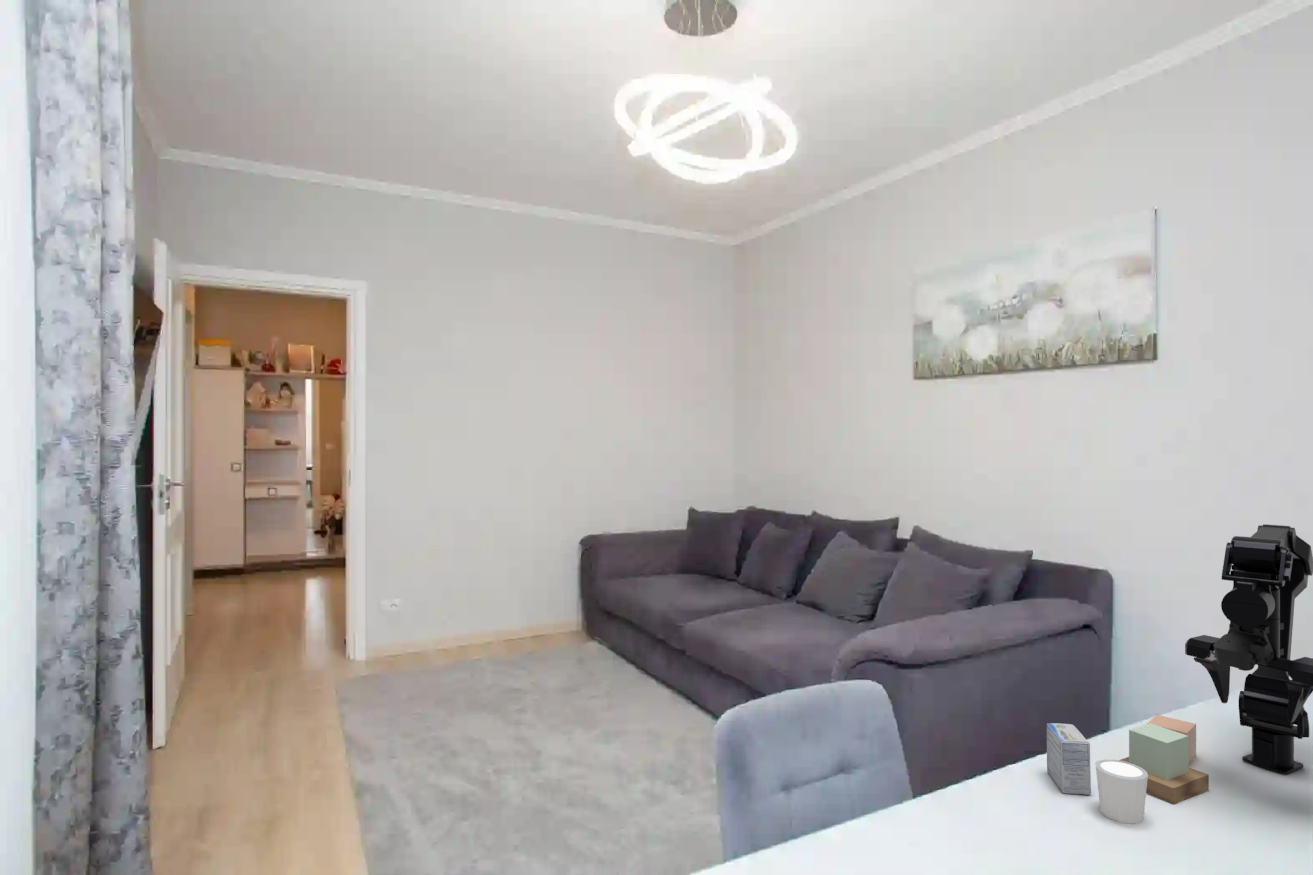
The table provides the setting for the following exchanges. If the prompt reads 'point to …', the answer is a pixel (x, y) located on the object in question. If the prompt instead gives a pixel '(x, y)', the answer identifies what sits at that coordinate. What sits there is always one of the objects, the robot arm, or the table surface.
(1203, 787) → the walnut block
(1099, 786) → the white tapered cylinder
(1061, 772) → the medicine box
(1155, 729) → the sage cube
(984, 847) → the table surface
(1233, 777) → the table surface
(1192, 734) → the clay cube
